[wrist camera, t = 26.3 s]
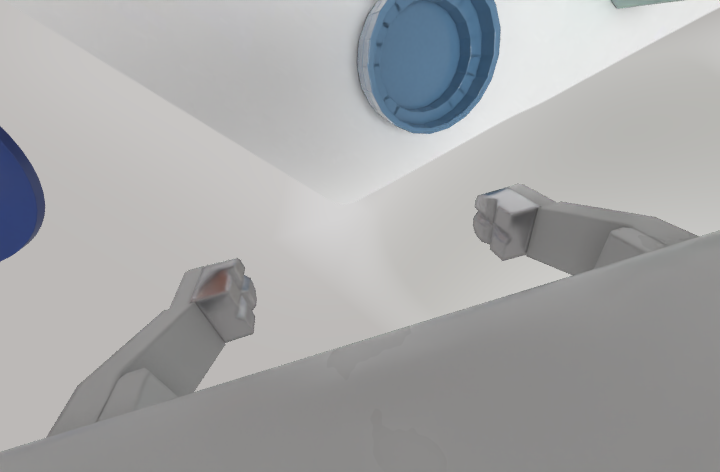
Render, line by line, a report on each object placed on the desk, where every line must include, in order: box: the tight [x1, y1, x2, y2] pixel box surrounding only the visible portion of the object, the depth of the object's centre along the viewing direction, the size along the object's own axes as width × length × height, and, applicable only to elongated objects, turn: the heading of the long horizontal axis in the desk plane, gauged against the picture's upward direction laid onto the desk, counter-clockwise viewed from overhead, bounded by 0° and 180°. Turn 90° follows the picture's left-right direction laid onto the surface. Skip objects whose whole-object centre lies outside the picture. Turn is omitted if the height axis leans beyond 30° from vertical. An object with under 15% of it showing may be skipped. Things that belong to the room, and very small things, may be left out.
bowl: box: [357, 0, 500, 134], centre depth 33 cm, size 15×15×6 cm
